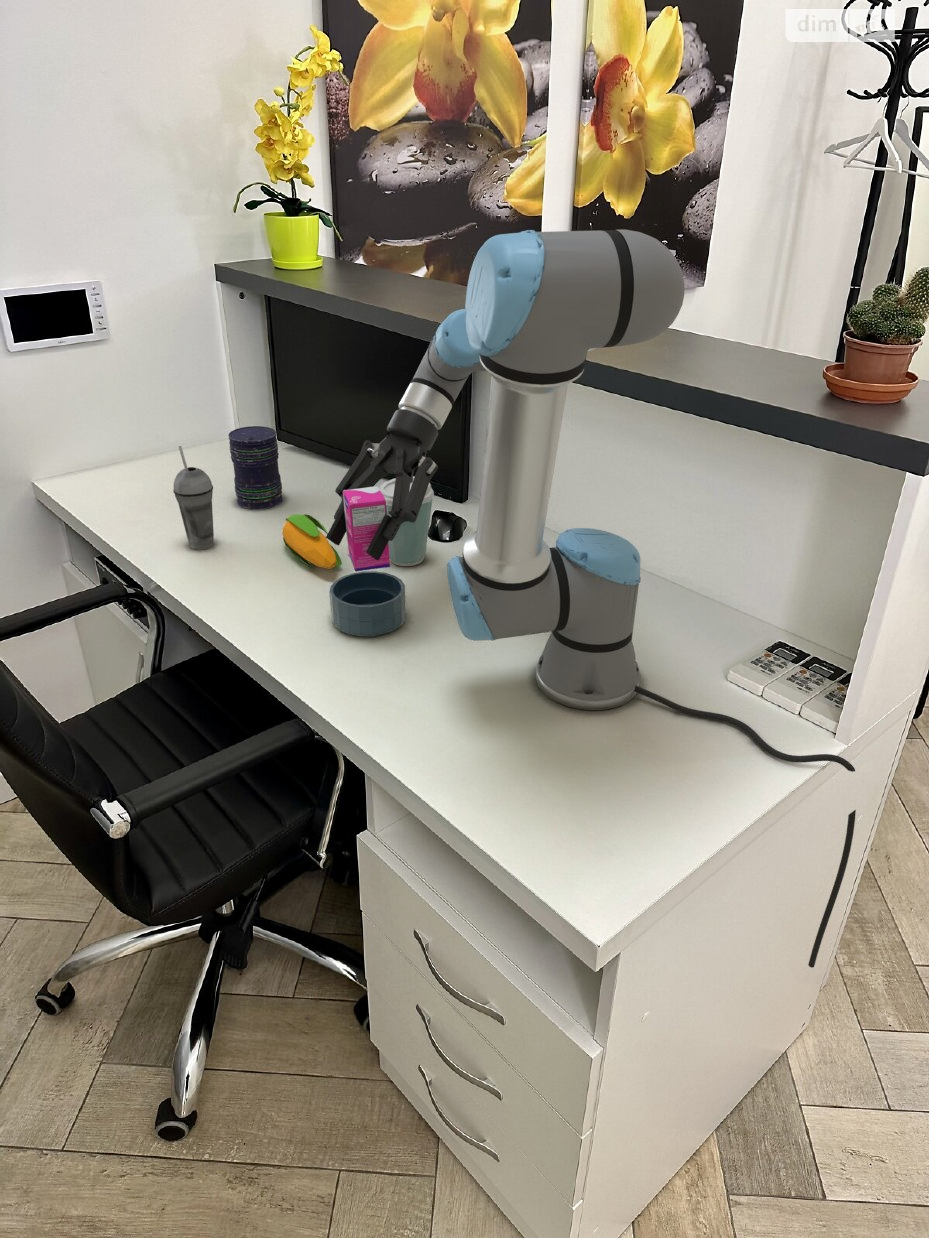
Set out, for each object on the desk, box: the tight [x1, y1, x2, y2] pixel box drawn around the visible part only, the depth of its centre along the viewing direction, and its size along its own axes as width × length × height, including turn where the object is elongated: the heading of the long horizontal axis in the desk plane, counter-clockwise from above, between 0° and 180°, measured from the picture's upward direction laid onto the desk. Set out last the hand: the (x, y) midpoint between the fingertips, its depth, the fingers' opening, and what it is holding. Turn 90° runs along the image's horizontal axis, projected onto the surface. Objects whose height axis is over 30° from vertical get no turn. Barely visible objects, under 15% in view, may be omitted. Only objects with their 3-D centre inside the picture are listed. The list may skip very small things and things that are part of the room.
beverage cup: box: [172, 445, 215, 551], centre depth 167 cm, size 7×7×20 cm
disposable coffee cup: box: [378, 476, 435, 567], centre depth 164 cm, size 11×11×15 cm
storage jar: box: [228, 425, 284, 511], centre depth 188 cm, size 10×10×15 cm
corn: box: [281, 513, 343, 570], centre depth 165 cm, size 7×8×20 cm
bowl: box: [328, 570, 407, 637], centre depth 146 cm, size 12×12×6 cm
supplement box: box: [343, 485, 391, 572], centre depth 137 cm, size 6×6×12 cm
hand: (352, 548), depth 136 cm, fingers closed on supplement box, 8 cm apart
